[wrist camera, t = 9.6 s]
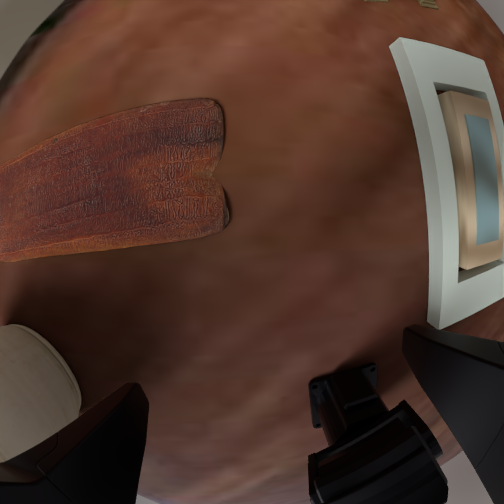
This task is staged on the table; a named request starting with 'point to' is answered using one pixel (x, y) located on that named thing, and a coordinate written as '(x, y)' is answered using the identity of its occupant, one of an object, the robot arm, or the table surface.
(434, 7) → the eiffel tower
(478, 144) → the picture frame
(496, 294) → the pale grey open frame
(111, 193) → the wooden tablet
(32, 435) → the jug
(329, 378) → the robot arm
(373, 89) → the table surface
